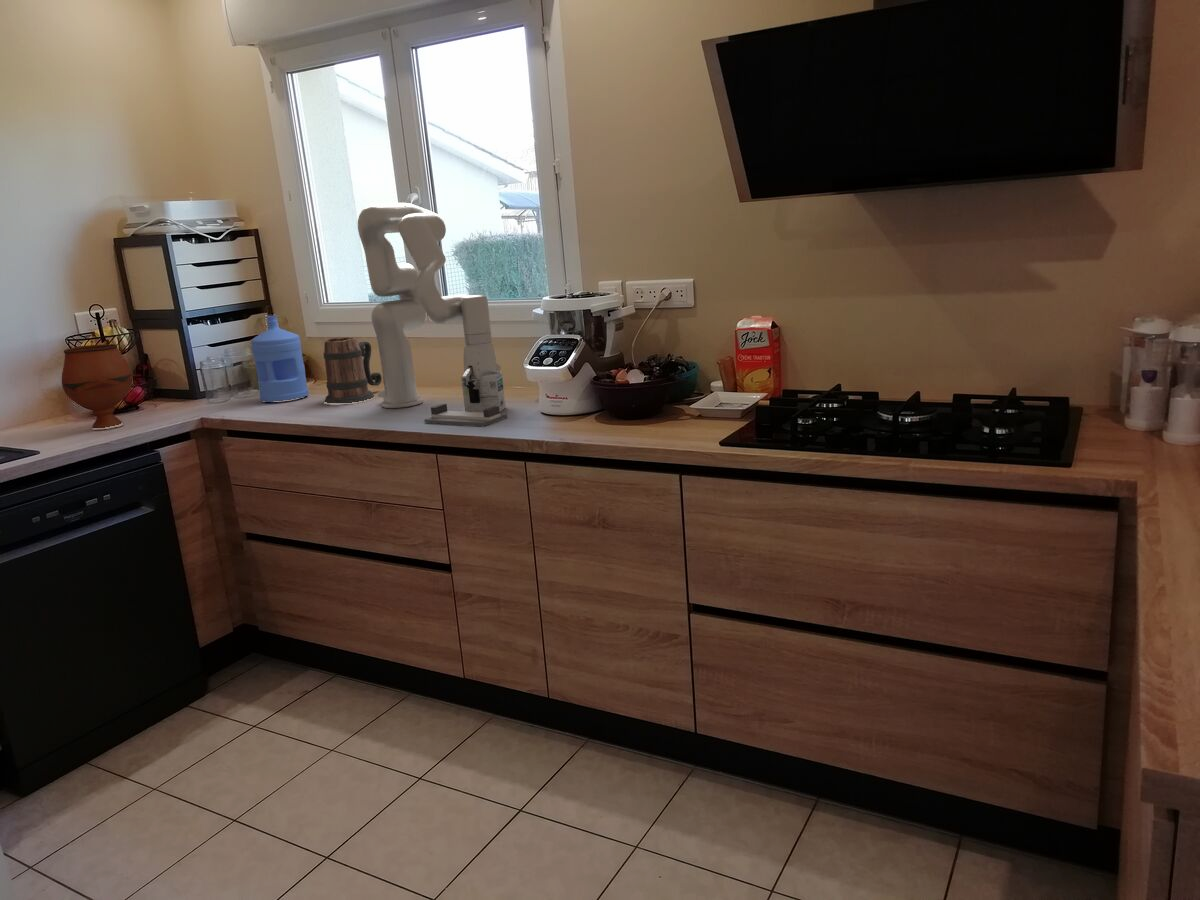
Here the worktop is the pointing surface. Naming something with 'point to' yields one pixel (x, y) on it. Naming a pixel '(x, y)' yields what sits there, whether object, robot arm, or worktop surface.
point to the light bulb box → (486, 393)
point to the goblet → (97, 380)
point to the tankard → (348, 370)
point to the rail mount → (464, 416)
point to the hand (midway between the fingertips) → (484, 399)
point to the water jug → (279, 364)
